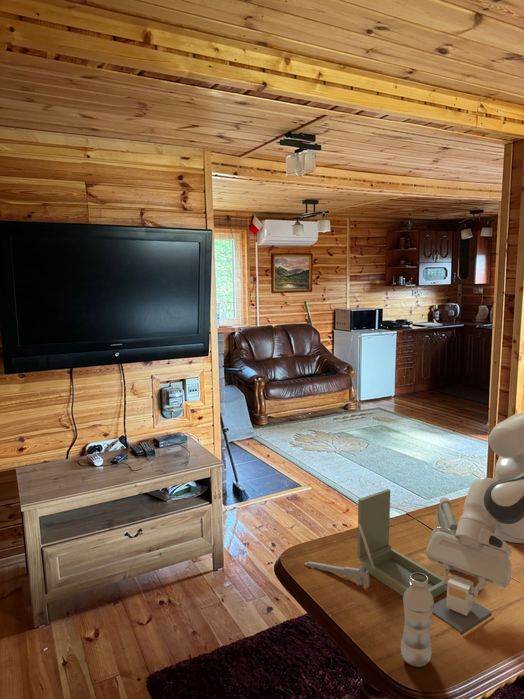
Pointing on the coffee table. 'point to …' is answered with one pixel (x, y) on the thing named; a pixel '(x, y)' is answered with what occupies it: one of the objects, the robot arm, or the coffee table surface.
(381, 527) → the equipment case
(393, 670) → the coffee table surface
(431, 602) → the plastic bottle
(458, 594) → the block
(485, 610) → the rubber mat
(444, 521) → the geiger counter
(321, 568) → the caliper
